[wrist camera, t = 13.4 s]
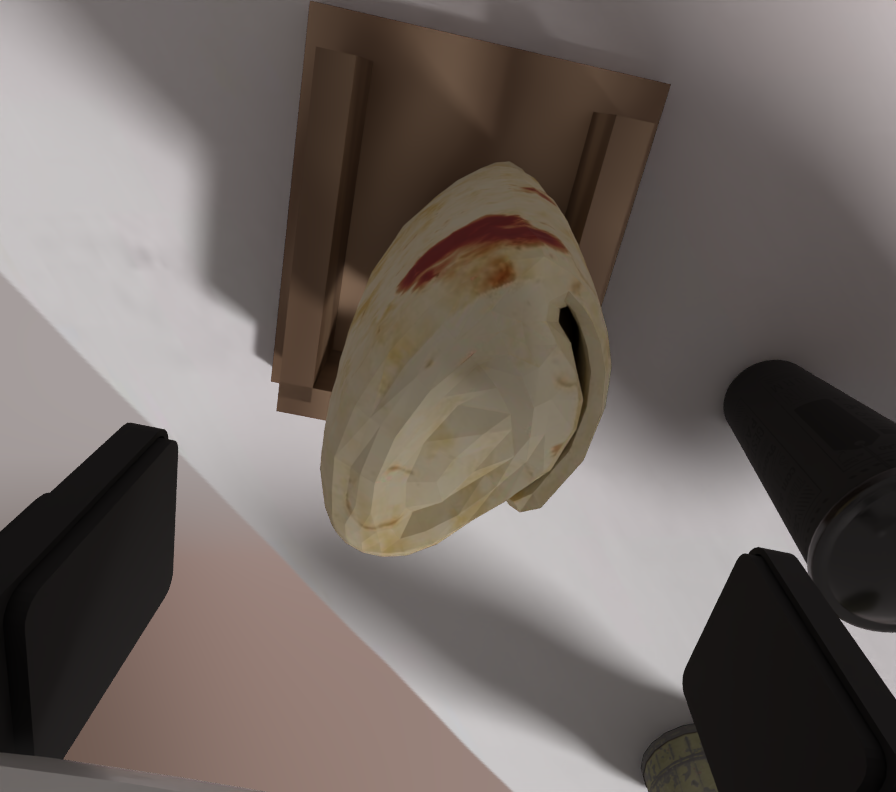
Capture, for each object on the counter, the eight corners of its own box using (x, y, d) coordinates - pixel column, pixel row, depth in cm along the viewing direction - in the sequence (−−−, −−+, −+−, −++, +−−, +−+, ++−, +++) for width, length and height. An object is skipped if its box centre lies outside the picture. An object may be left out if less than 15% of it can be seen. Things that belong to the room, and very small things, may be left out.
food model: (463, 119, 30) (463, 158, 12) (579, 205, 31) (738, 360, 13) (353, 293, 33) (219, 531, 15) (461, 363, 35) (459, 657, 17)
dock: (661, 84, 30) (709, 82, 25) (556, 425, 38) (573, 486, 32) (317, 4, 29) (279, -18, 24) (278, 370, 37) (242, 423, 31)
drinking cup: (671, 431, 38) (861, 743, 20) (746, 313, 35) (1053, 552, 17) (784, 477, 39) (1064, 813, 21) (867, 367, 36) (1278, 645, 18)
